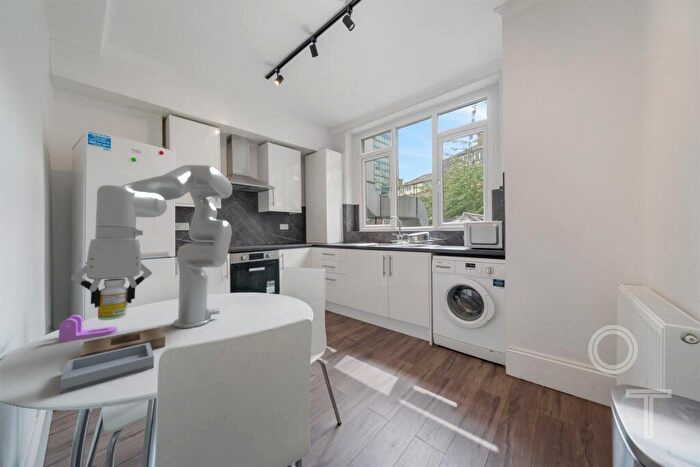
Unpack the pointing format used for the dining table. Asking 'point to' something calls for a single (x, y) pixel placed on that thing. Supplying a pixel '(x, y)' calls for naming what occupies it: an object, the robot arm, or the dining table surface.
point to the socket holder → (124, 341)
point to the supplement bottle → (113, 299)
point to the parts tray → (106, 366)
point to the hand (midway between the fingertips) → (113, 303)
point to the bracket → (80, 330)
